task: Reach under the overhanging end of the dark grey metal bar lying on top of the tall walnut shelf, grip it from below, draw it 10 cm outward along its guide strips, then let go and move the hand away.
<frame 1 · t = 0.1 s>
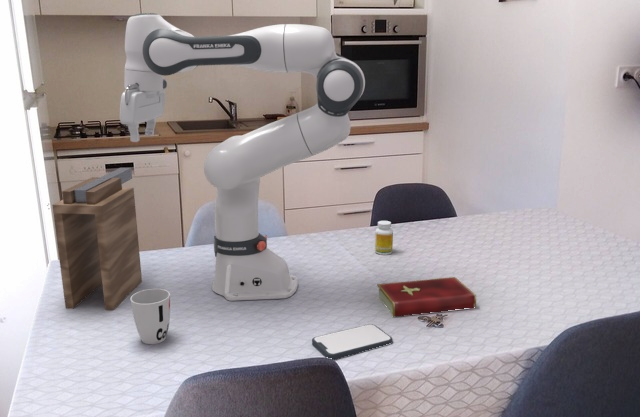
hand: (142, 138, 148), 39 cm above the table, tool pointing down, fingers open, 8 cm apart
hardcover book: (425, 305, 147), on the table
bar: (105, 183, 150), point 28 cm above the table, slide at 0.0 cm
supplement bottle: (383, 253, 182), on the table
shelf: (105, 294, 152), on the table
smartphone: (352, 345, 127), on the table
cup: (154, 339, 129), on the table
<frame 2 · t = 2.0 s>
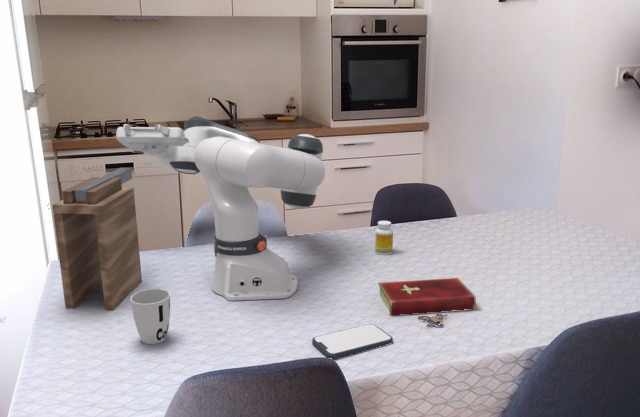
hand: (141, 126, 172), 39 cm above the table, tool pointing upward, fingers open, 8 cm apart
nothing on the table moved.
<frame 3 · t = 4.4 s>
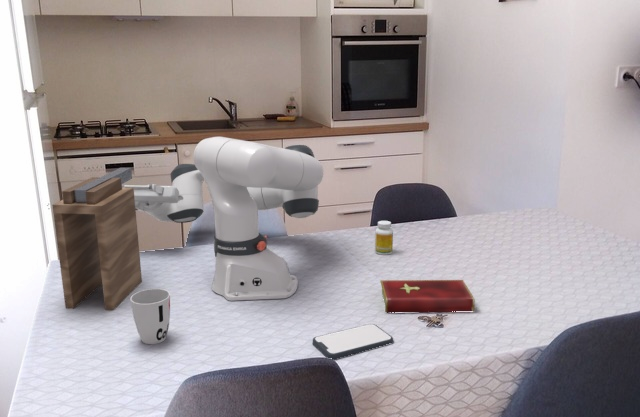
hand: (135, 186, 170), 22 cm above the table, tool pointing upward, fingers open, 8 cm apart
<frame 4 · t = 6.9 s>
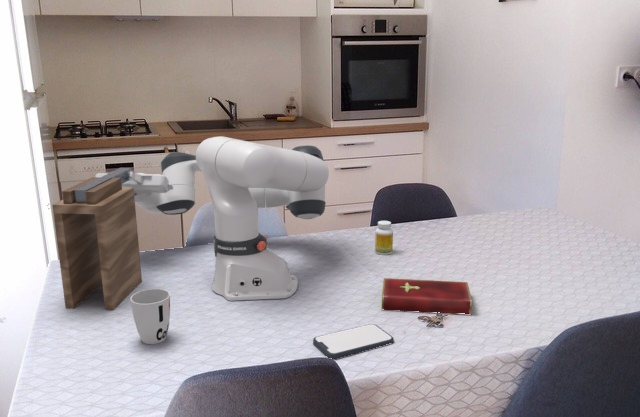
hand: (121, 174, 160), 28 cm above the table, tool pointing upward, fingers closed on bar, 3 cm apart
bar: (105, 183, 150), point 28 cm above the table, slide at 0.0 cm, touching gripper
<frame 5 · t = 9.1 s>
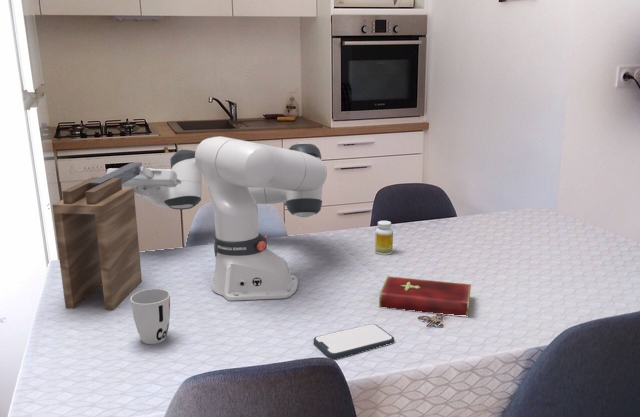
hand: (132, 169, 167), 28 cm above the table, tool pointing upward, fingers closed on bar, 3 cm apart
bar: (117, 177, 158), point 28 cm above the table, slide at 7.4 cm, touching gripper
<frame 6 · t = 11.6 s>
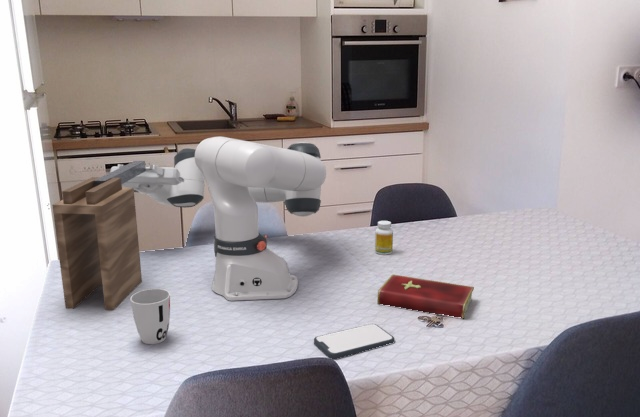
hand: (135, 167, 169), 28 cm above the table, tool pointing upward, fingers open, 8 cm apart
bar: (121, 175, 160), point 28 cm above the table, slide at 9.9 cm
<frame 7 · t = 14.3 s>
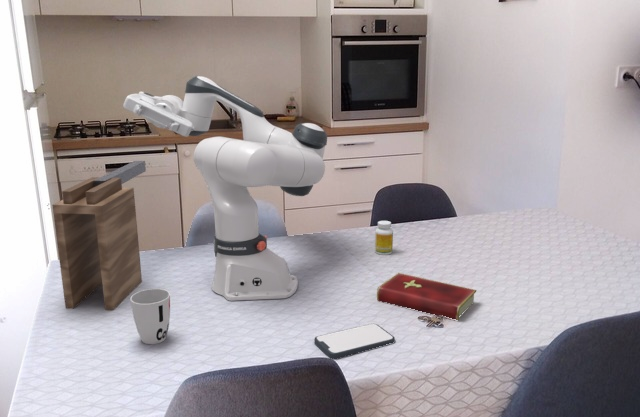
hand: (153, 119, 166), 41 cm above the table, tool horizontal, fingers open, 8 cm apart
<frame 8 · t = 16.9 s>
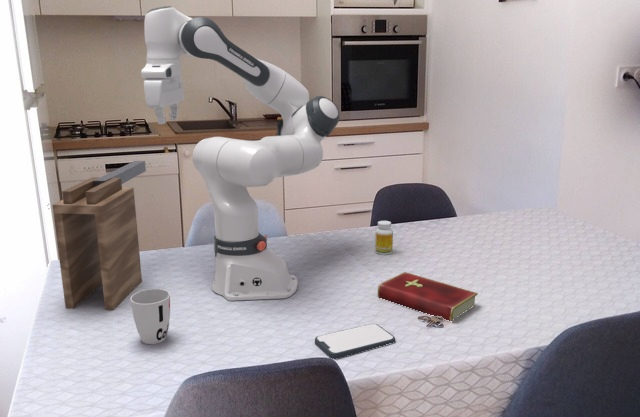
hand: (167, 121, 163), 41 cm above the table, tool pointing down, fingers open, 8 cm apart
at the end: bar slide at 9.9 cm; the gripper is holding nothing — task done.
